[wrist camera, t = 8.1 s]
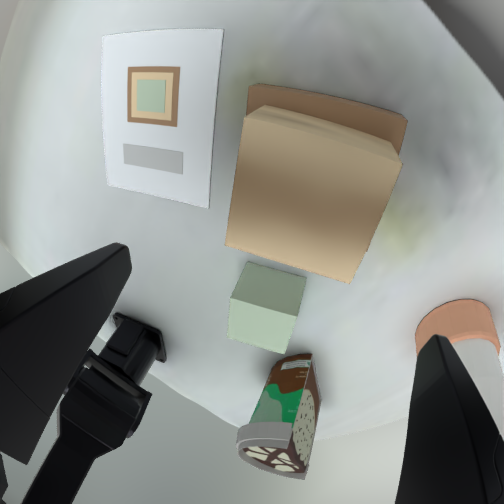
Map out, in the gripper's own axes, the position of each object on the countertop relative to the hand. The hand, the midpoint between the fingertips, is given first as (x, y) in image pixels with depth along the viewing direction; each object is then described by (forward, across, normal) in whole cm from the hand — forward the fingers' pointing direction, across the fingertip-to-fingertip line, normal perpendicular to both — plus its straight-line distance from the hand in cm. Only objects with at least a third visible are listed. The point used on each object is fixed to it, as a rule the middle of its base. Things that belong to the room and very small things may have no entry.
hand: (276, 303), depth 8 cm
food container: (+12, -3, +23) cm, 26 cm away
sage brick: (+12, +1, +11) cm, 16 cm away
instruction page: (+12, +11, -1) cm, 16 cm away
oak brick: (+10, 0, 0) cm, 10 cm away
